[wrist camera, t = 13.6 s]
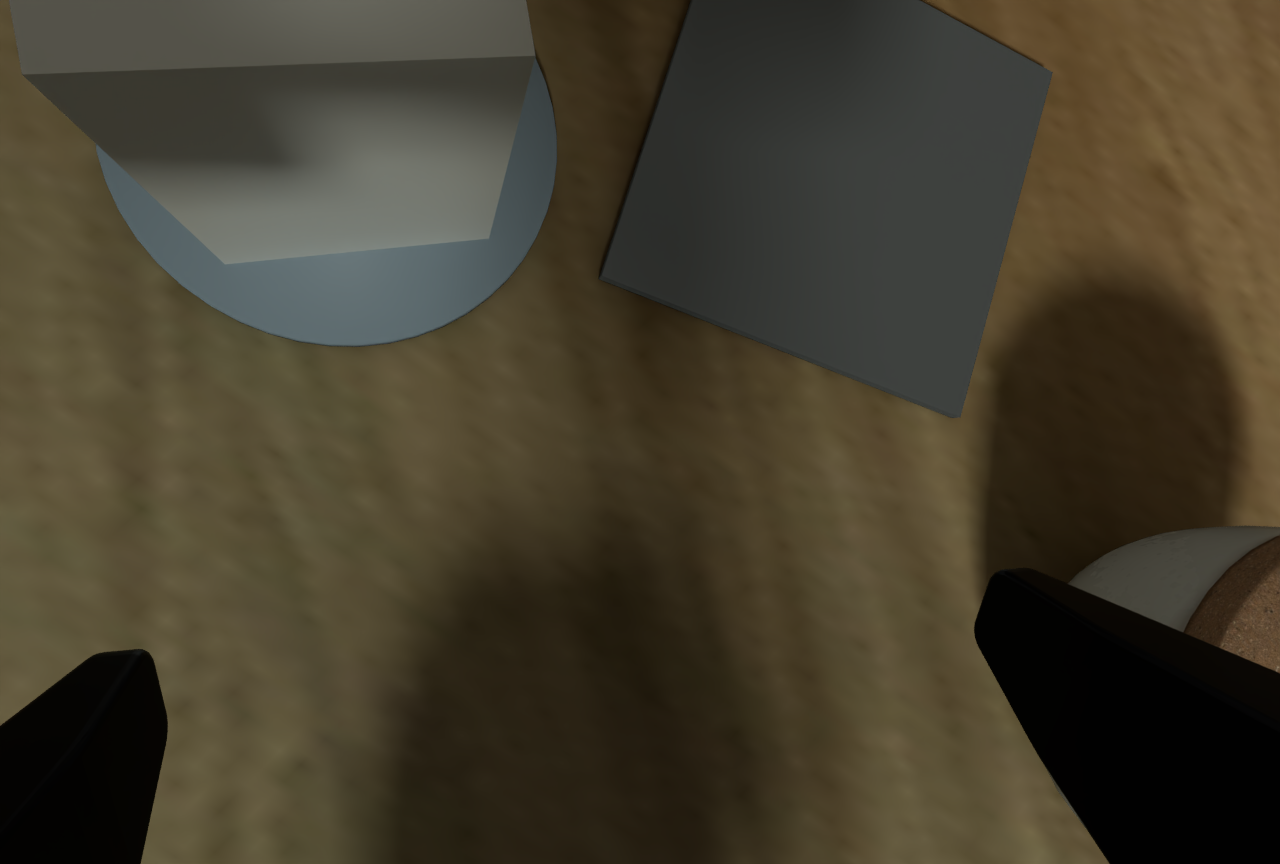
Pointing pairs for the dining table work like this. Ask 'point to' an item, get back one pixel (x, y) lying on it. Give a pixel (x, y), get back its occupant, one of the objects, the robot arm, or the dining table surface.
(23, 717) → the robot arm
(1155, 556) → the lidded jar
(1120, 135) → the dining table surface
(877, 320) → the mat
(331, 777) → the dining table surface
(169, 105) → the white tall block
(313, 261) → the coaster
